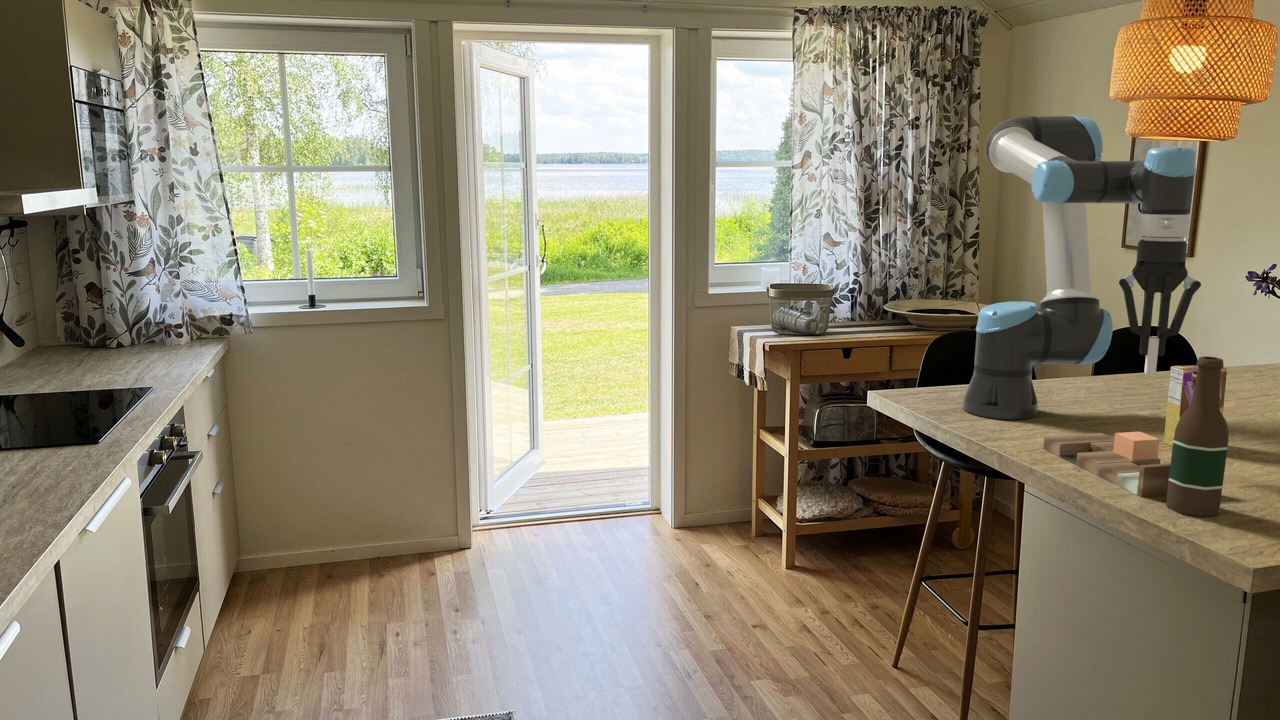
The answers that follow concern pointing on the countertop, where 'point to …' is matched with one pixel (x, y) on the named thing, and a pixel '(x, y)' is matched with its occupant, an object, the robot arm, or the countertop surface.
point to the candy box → (1184, 396)
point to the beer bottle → (1200, 447)
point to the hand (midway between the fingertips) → (1149, 373)
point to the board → (1111, 463)
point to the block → (1136, 445)
